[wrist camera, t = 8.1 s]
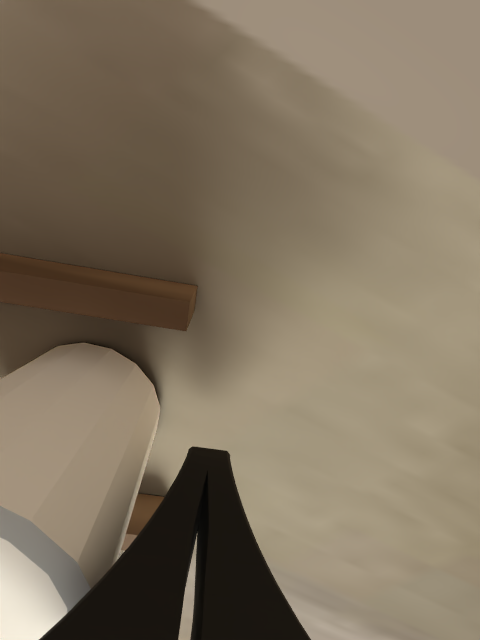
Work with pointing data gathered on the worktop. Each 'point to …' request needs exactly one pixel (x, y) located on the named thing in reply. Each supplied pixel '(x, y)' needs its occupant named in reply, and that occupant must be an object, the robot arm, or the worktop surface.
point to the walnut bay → (100, 313)
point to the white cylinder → (67, 478)
